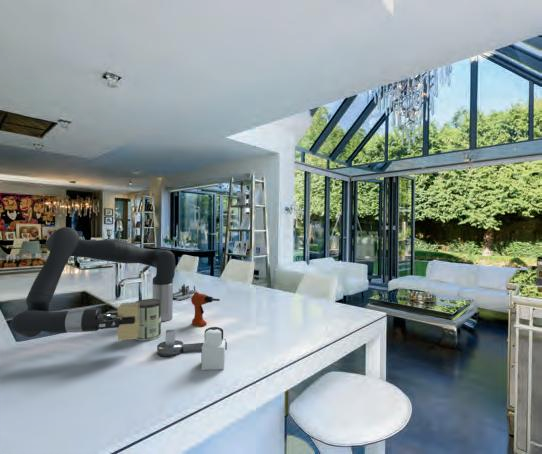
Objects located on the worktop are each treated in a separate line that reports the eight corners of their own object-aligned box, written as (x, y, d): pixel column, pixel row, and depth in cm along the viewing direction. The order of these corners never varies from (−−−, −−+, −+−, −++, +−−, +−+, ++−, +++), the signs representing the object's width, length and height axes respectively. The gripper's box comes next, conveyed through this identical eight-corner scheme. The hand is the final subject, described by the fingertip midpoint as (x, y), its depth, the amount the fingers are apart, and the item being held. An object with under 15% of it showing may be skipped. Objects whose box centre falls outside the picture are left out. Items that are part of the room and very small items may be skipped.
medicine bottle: (204, 360, 105) (204, 325, 105) (225, 360, 105) (225, 324, 105) (201, 370, 98) (201, 332, 98) (223, 369, 98) (224, 332, 98)
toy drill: (217, 329, 131) (214, 294, 132) (189, 325, 142) (187, 293, 143) (225, 326, 134) (222, 292, 135) (198, 323, 146) (195, 291, 147)
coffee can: (146, 330, 133) (146, 297, 133) (166, 333, 130) (166, 300, 130) (128, 338, 123) (128, 303, 123) (149, 342, 120) (149, 306, 120)
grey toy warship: (184, 292, 203) (159, 303, 187) (183, 282, 202) (157, 292, 186) (199, 295, 196) (174, 307, 180) (198, 285, 195) (173, 296, 178)
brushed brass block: (117, 339, 106) (117, 307, 105) (122, 333, 111) (121, 303, 111) (136, 338, 107) (136, 306, 107) (139, 332, 113) (139, 302, 113)
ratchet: (155, 358, 106) (155, 336, 106) (158, 347, 115) (158, 327, 115) (227, 352, 112) (227, 331, 112) (225, 342, 120) (225, 323, 120)
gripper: (75, 316, 99) (132, 312, 103) (90, 304, 113) (140, 301, 117) (76, 339, 99) (132, 335, 103) (91, 324, 113) (140, 321, 117)
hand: (136, 317), depth 110 cm, fingers closed on brushed brass block, 6 cm apart
